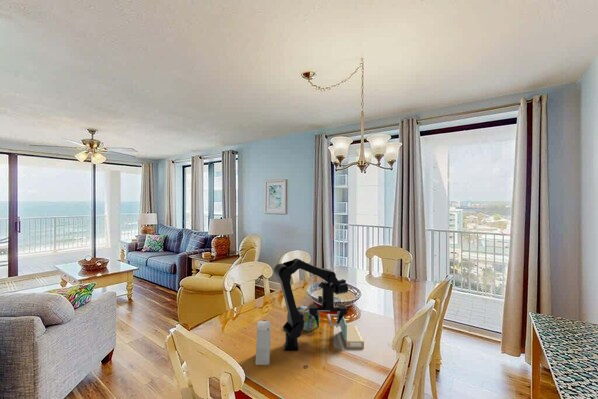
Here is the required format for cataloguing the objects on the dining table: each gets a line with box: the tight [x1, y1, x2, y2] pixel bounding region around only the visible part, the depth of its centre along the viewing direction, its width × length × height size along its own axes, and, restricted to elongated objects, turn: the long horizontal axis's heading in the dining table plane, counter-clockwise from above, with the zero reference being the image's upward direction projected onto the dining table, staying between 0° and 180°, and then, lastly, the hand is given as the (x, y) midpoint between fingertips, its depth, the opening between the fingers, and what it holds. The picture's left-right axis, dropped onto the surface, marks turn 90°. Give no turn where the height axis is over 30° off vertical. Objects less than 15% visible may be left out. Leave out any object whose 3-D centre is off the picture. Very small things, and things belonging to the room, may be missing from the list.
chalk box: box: [296, 304, 322, 333], centre depth 144 cm, size 9×9×15 cm
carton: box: [340, 325, 365, 349], centre depth 132 cm, size 16×8×3 cm, turn 0°
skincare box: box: [254, 320, 272, 366], centre depth 114 cm, size 8×6×15 cm
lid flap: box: [326, 313, 348, 340], centre depth 132 cm, size 15×7×8 cm
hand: (327, 326), depth 132 cm, fingers open, 9 cm apart
